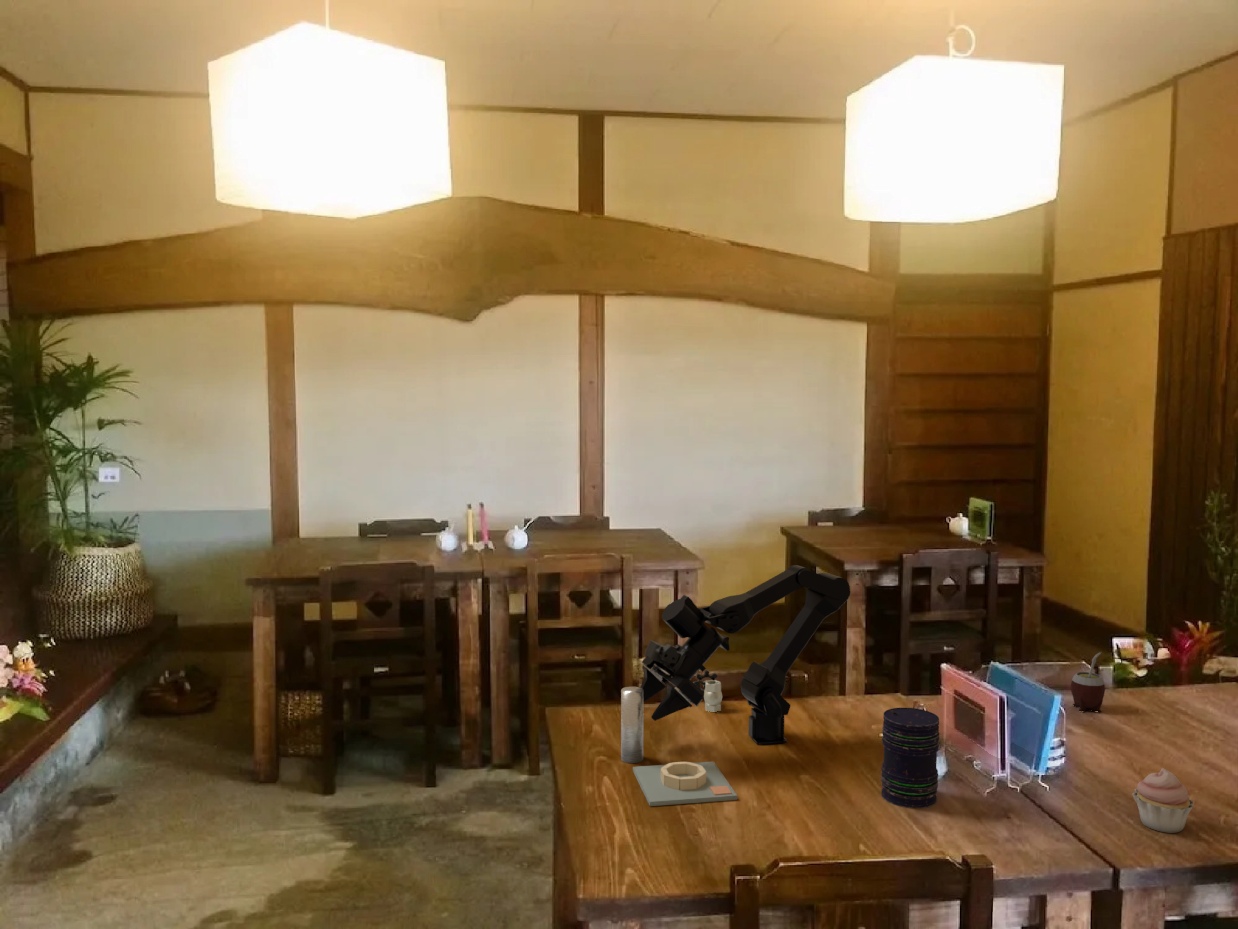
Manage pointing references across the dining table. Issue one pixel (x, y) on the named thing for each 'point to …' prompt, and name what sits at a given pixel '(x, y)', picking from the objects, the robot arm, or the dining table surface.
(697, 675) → the valve
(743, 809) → the dining table surface
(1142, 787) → the cupcake
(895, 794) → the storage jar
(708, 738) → the dining table surface
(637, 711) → the silver metal cylinder
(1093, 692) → the mate gourd
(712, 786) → the socket board
